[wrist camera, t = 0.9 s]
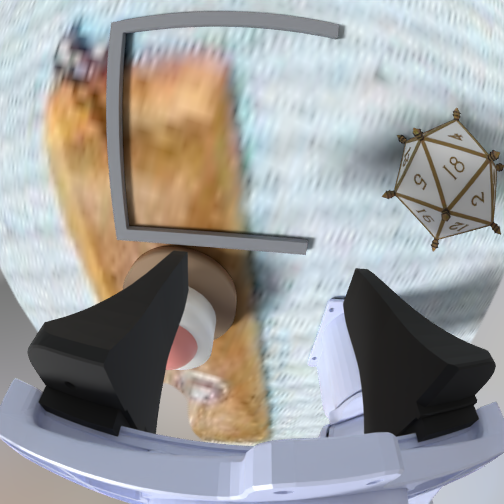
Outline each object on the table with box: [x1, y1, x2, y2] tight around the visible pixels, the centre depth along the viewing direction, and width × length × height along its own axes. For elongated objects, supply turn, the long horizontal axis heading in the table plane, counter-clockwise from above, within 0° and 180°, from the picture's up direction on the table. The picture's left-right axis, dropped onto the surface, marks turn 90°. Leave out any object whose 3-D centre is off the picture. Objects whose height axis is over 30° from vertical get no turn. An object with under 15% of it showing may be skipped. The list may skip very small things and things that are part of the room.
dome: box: [166, 287, 216, 370], centre depth 21 cm, size 7×7×5 cm
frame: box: [106, 11, 339, 255], centre depth 18 cm, size 17×15×1 cm
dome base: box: [123, 246, 237, 340], centre depth 25 cm, size 10×10×2 cm
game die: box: [382, 108, 504, 251], centre depth 15 cm, size 9×8×10 cm
